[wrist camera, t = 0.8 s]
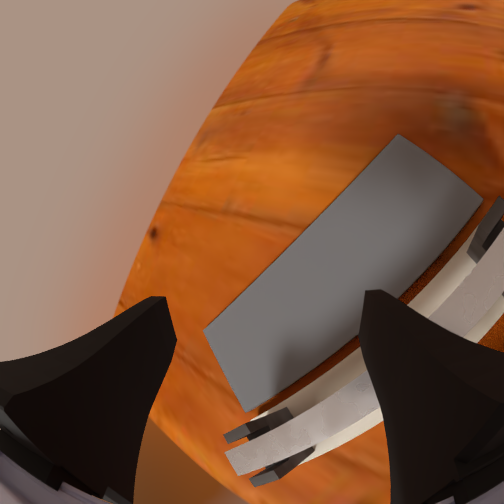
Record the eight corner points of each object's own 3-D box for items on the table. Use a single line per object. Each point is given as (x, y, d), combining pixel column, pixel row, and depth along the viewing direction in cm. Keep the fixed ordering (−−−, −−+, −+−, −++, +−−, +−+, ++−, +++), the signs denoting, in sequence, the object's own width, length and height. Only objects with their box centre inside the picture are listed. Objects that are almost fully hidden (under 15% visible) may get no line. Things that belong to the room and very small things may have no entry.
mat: (482, 202, 16) (483, 199, 15) (249, 411, 23) (245, 412, 23) (398, 137, 21) (397, 133, 21) (206, 330, 29) (203, 330, 29)
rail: (533, 240, 9) (544, 228, 8) (255, 466, 16) (238, 475, 15) (511, 216, 11) (520, 201, 9) (242, 444, 18) (224, 452, 16)
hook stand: (533, 266, 12) (568, 239, 6) (287, 466, 19) (241, 497, 14) (487, 214, 15) (504, 169, 10) (257, 417, 23) (205, 435, 17)
